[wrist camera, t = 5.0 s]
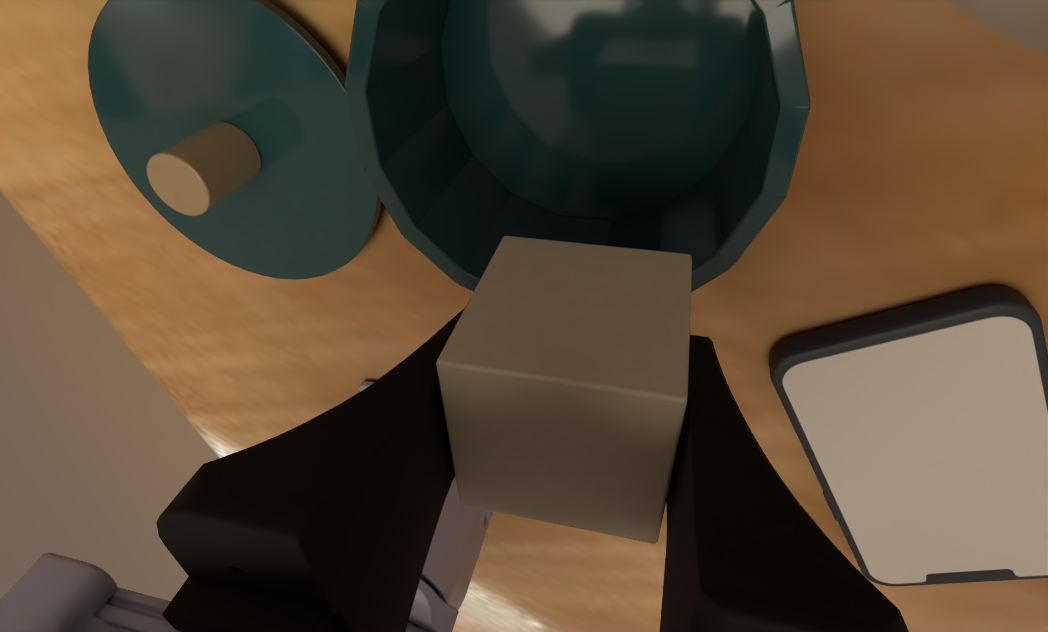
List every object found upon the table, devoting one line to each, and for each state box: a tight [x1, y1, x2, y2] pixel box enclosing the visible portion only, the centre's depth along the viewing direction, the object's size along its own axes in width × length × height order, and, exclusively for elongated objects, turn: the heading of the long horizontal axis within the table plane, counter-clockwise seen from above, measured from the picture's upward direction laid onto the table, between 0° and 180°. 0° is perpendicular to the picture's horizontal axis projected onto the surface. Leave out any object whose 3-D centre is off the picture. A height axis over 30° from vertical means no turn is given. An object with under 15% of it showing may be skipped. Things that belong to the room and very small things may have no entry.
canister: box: [345, 0, 810, 292], centre depth 16 cm, size 11×11×6 cm
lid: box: [88, 0, 382, 279], centre depth 22 cm, size 12×12×4 cm
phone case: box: [769, 286, 1048, 586], centre depth 24 cm, size 9×2×16 cm
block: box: [436, 236, 692, 543], centre depth 13 cm, size 4×4×5 cm
